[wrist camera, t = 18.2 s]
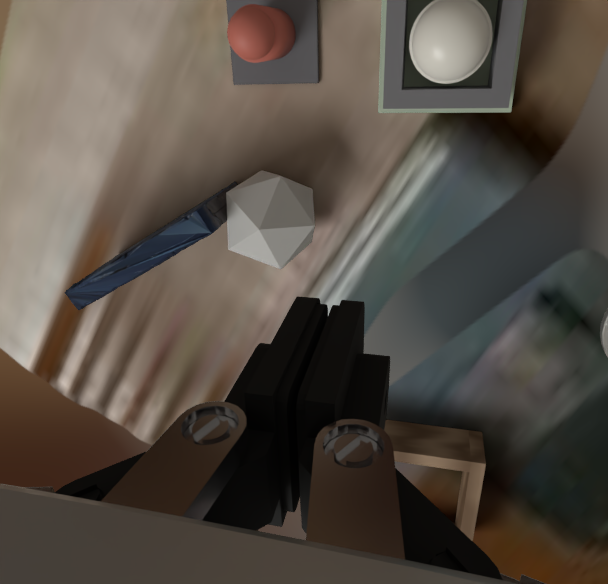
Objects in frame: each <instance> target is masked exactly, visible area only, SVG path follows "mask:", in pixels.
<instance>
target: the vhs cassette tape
mask: <svg viewBox="0 0 608 584" xmlns="http://www.w3.org/2000/svg"><path fill="white" fill-rule="evenodd" d="M236 186H237V183H236V182H234V183H232V184H231V185H230V186H228V187H226V188H225V189H222V190H221V191H220V192H218V193H216V194H215V195H213V196H212V197H210V198H208V199H207V200H205V201H204V202H202V203H200V204H199V205H197V206H195V207H194V208H192V209H191V210H189V211H188V212H186V213H184V214H183V215H181V216H179V217H178V218H176V219H175V220H173V221H172V222H170V223H168V224H167V225H165V226H164V227H162V228H160V229H159V230H157V231H156V232H154V233H152V234H151V235H149V236H147V237H146V238H144V239H143V240H141V241H139V242H138V243H136V244H135V245H133V246H132V247H130V248H128V249H127V250H125V251H124V252H122V253H121V254H119V255H116V256H115V257H114V258H113V259H112V260H110V261H109V262H107V263H105V264H104V265H102V266H101V267H99V268H98V269H96V270H95V271H94V272H92V273H91V274H89V275H88V276H86V277H85V278H84V279H82V280H81V281H79V282H78V283H75V284H73V285H72V286H71V287H70V288H69V289H68V290H66V292H65V294H66V295H67V296H68V297H69V299H70V300H71V302H72V303H73V304H74V306H75V307H76V308H77V309H78V310H80V309H83V308H84V307H85V306H87V305H89V304H91V303H93V302H95V301H96V300H98V299H100V298H102V297H104V296H105V295H107V294H109V293H110V292H112V291H114V290H115V289H117V288H118V287H120V286H122V285H124V284H126V283H128V282H130V281H131V280H133V279H135V278H137V277H138V276H140V275H142V274H144V273H145V272H147V271H149V270H150V269H152V268H154V267H155V266H158V265H160V264H161V263H162V262H164V261H166V260H168V259H169V258H171V257H172V256H174V255H176V254H177V253H179V252H180V251H182V250H184V249H186V248H187V247H189V246H191V245H193V244H195V243H196V242H198V241H199V240H201V239H203V238H205V237H207V236H209V235H211V234H212V233H213V232H214V231H216V230H217V229H218V228H219V227H220V226H221V225H222V224H223V223H225V222H226V221H227V200H226V192H228V191H230V190H231V189H233V188H234V187H236Z"/></svg>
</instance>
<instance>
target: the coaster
mask: <svg viewBox="0 0 608 584" xmlns="http://www.w3.org/2000/svg"><path fill="white" fill-rule="evenodd" d="M226 1H227V13H228V24H229V21H230V19H231V18H232V16H233V15H234V14H235V13H236V11H237V10H238V9H240V8H241V7H243V6H245V5H249V4H257V5H262V6H267V7H272V8H278V9H281V10H283V11H284V12H286V13H287V14H288V15H289V17H290V18H291V19H292V21H293V23H294V26H295V33H296V37H295V42H294V45H293V47H292V49H291V51H290V52H289V53H288V54H287V55H286V56H284V57H282V58H280V59H275V60H270V61H264V62H258V63H252V62H248V61H245V60H244V59H242V58H241V57H239V56H238V55H237V54H236V53H235V52H234V50H233V49H232V47H231V45H230V47H231V59H232V70H233V82H234V85H238V84H290V83H319V60H318V1H317V0H226Z"/></svg>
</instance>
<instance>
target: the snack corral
mask: <svg viewBox="0 0 608 584" xmlns="http://www.w3.org/2000/svg"><path fill="white" fill-rule="evenodd" d="M384 431H385V432H386V433H387V434H388V436H389V437H390V439H391V442H392V445H393V451H394V460H395V461H397V462H404V463H410V464H417V465H424V466H431V467H437V468H444V469H451V470H458V471H462V478H461V484H460V491H459V498H458V505H457V511H456V518H455V523H454V524H455V525H456V526H457V527H458V528H459V529H460V530H461V531H462V532H463V533H464V534H465V535H466V536H467V537H468V538H469V539H470V540H471V541H473V535H474V530H475V524H476V518H477V512H478V507H479V501H480V495H481V490H482V484H483V478H484V472H485V467H486V460H485V452H484V444H483V435H482V432H478V431H470V430H463V429H455V428H447V427H439V426H432V425H424V424H416V423H409V422H401V421H393V420H386V421H385V428H384Z"/></svg>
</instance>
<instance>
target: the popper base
mask: <svg viewBox="0 0 608 584" xmlns="http://www.w3.org/2000/svg"><path fill="white" fill-rule="evenodd" d="M432 1H434V0H382V11H381V42H380V73H379V104H378V113H460V112H511V109H512V102H513V95H514V88H515V81H516V74H517V68H518V61H519V54H520V47H521V40H522V33H523V26H524V19H525V12H526V5H527V0H477V1H478V2H479V3H480V4H481V5H482V6H483V7H484V8H485V9H486V11H487V13H488V15H489V17H490V20H491V24H492V32H493V34H492V43H491V47H490V50H489V53H488V55H487V57H486V59H485V60H484V62H483V63H482V65H481V66H480V67H479V68H478V69H477V70H476V71H475V72H474V73H473V74H472V75H470V76H469V77H467V78H465V79H463V80H461V81H459V82H455V83H449V84H441V83H436V82H433V81H431V80H429V79H427V78H425V77H424V76H423V75H422V74H421V73H420V72H419V71H418V70H417V69H416V67H415V65H414V64H413V61H412V59H411V55H410V49H409V40H410V34H411V30H412V27H413V24H414V22H415V20H416V19H417V17H418V15H419V14H420V13H421V11H422V10H423V9H424V8H425V7H426V6H427V5H428V4H430V3H431V2H432Z"/></svg>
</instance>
